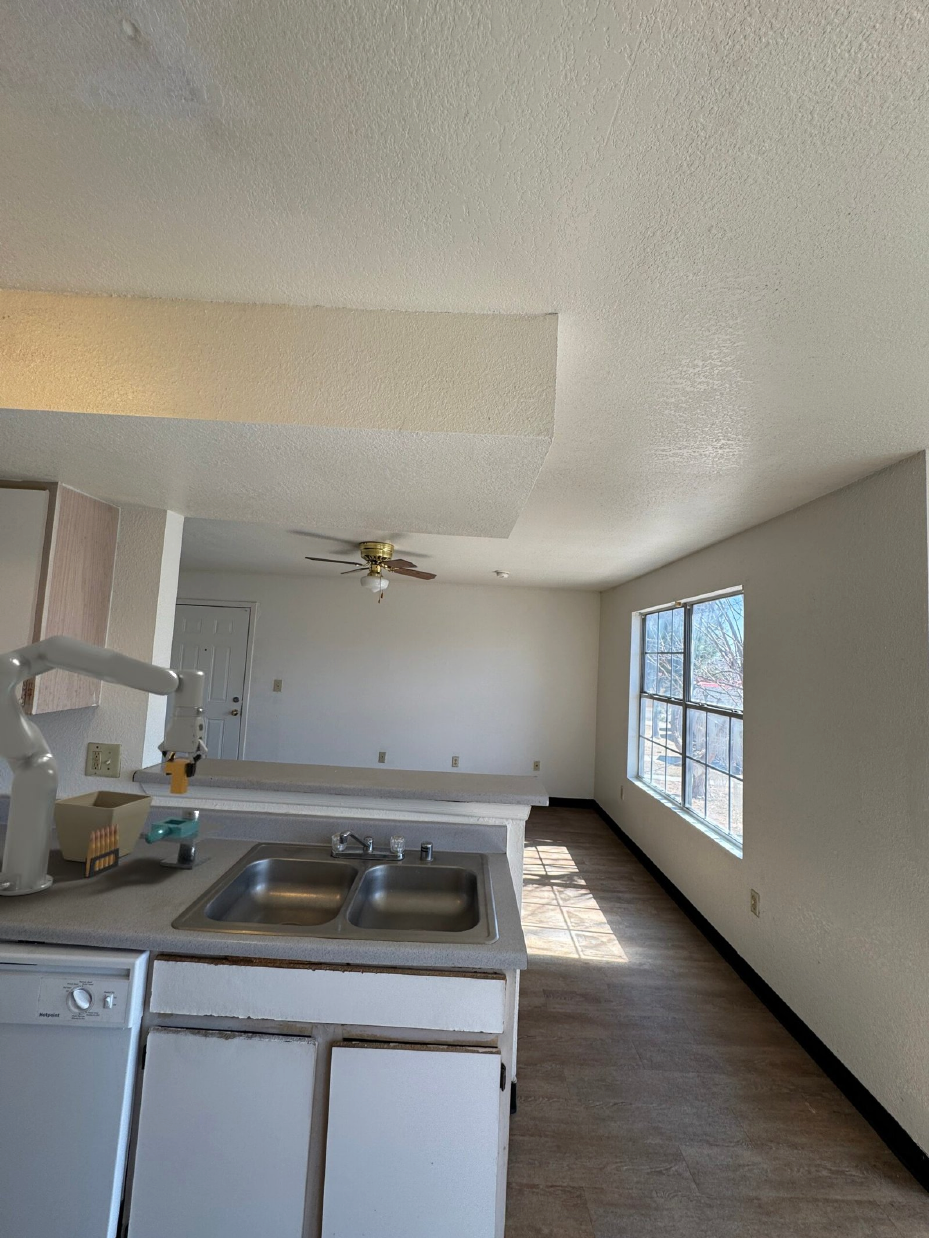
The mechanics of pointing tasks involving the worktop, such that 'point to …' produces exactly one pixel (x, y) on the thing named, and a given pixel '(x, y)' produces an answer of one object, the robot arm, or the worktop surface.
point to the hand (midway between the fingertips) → (180, 775)
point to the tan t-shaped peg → (178, 775)
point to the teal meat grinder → (183, 837)
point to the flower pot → (99, 820)
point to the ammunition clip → (102, 852)
